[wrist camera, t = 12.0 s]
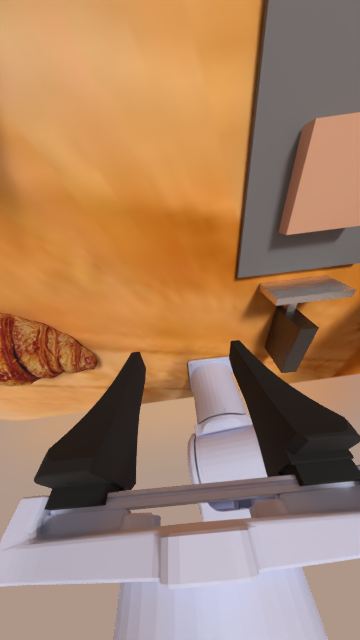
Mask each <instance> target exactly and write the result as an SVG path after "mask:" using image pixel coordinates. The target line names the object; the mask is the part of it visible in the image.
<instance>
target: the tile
mask: <svg viewBox="0 0 360 640" xmlns="http://www.w3.org/2000/svg"><path fill="white" fill-rule="evenodd" d="M354 226H360V112H357V113H350V114H343V115H336V116H329V117H322V118H316V119H314V120H312V121H311V122H309V123H307V124H305V125H304V126H303V129H302V132H301V136H300V141H299V145H298V149H297V154H296V158H295V162H294V167H293V171H292V176H291V180H290V184H289V189H288V193H287V197H286V202H285V206H284V211H283V215H282V219H281V224H280V228H279V233H280V234H284V235H291V234H299V233H307V232H315V231H323V230H330V229H338V228H346V227H354Z"/></svg>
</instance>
